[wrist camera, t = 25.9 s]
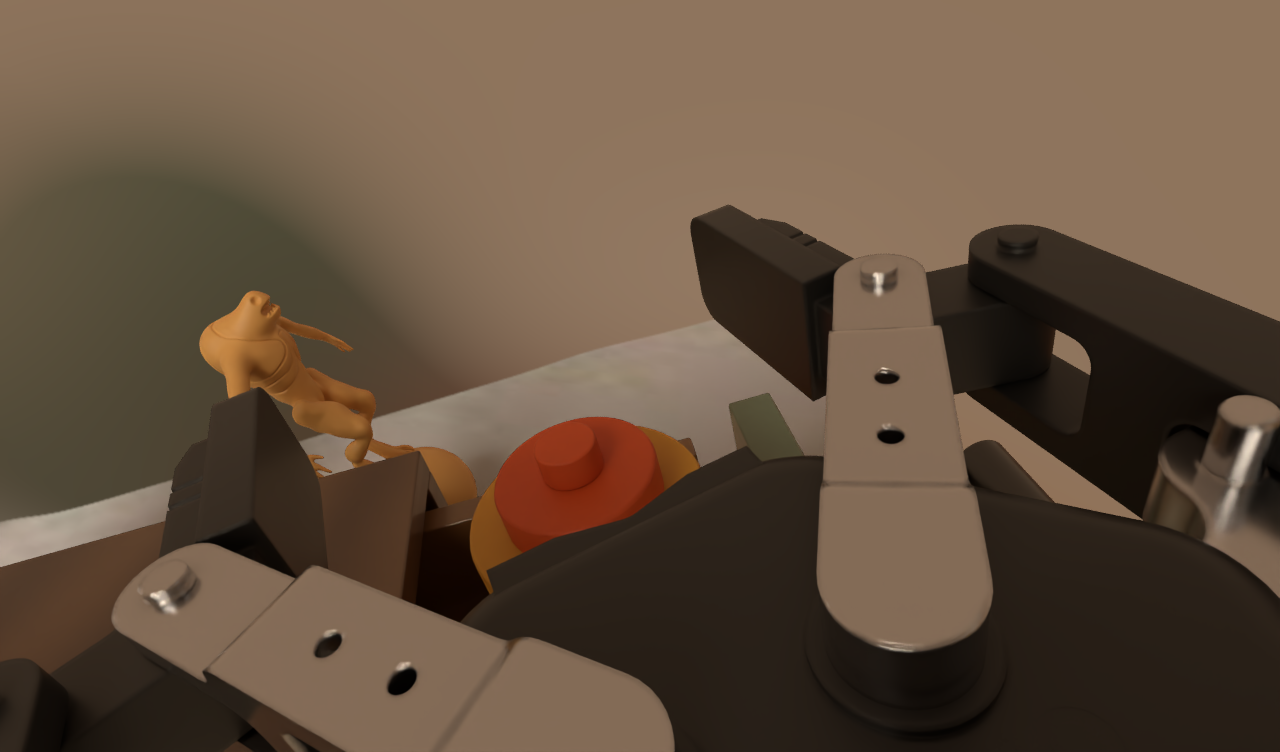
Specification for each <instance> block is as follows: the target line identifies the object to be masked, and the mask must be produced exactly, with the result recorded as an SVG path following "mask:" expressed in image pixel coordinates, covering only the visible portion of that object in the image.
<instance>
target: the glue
mask: <svg viewBox="0 0 1280 752" xmlns="http://www.w3.org/2000/svg"><path fill="white" fill-rule="evenodd" d="M699 468H701V467H700V465H699V463H698V462H697V460H696V459H695V457H694V456H693V455H692V454H691V452H689V451H688V450H687V449H686V448H685V447H684V446H683V445H682V444H681V443H679V442H678V441H677V440H675V439H674V438H672V437H670V436H668V435H666V434H664V433H661V432H659V431H656V430H653V429H649V428H645V427H641V426H635V425H633V424H631V423H629V422H626V421H623V420H620V419H615V418H609V417H586V418H579V419H574V420H570V421H566V422H563V423H560V424H557V425H554V426H552V427H550V428H547V429H545V430H543V431H541V432H539V433H538V434H536V435H534V436H533V437H531V438H530V439H528V440H527V441H526V442H524V443H523V444H522V445H521V446H519V447H518V448H517V449H516V450H515V451H514V452H513V453H512V454H511V455H510V456H509V458H508V459H507V460H506V462H505V463H504V464H503V466H502V468H501V469H500V472H499V474H498V476H497V478H496V479H495V480H494V481H493V482H492V483H491V485H490V486H489V487H488V489H487V490H486V491H485V493H484V495H483V496H482V498H481V500H480V501H479V504H478V506H477V508H476V510H475V513H474V516H473V519H472V523H471V530H470V551H471V555H472V559H473V562H474V564H475V566H476V568H477V570H478V572H479V574H480V576H481V578H482V580H483V582H484V584H485V586H486V588H487V590H488V592H489V594H491V593H492V592H493V589H492V586H491V583H490V580H489V578H488V575H487V572H486V570H488V569H490V568H492V567H495V566H497V565H499V564H501V563H503V562H505V561H507V560H509V559H511V558H513V557H515V556H517V555H520V554H522V553H524V552H526V551H528V550H530V549H532V548H534V547H536V546H538V545H540V544H542V543H545V542H547V541H549V540H551V539H553V538H555V537H559V536H563V535H566V534H570V533H574V532H578V531H581V530H585V529H589V528H592V527H596V526H600V525H604V524H607V523H611V522H615V521H618V520H622V519H625V518H628V517H630V516H632V515H633V514H635V513H636V512H638V511H639V510H640V509H642V508H643V507H644V506H646V505H647V504H648V503H650V502H651V501H652V500H654V499H655V498H656V497H657V496H659V495H660V494H661V493H663V492H664V491H665V490H667V489H668V488H669V487H671V486H672V485H673V484H675V483H676V482H677V481H679V480H680V479H681V478H683V477H684V476H685V475H687V474H688V473H691V472H693V471H695V470H697V469H699Z"/></svg>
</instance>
